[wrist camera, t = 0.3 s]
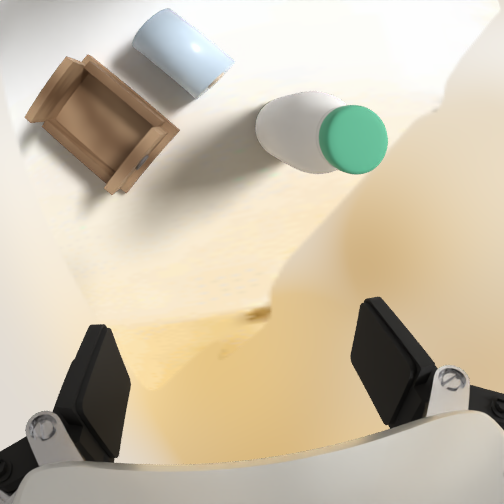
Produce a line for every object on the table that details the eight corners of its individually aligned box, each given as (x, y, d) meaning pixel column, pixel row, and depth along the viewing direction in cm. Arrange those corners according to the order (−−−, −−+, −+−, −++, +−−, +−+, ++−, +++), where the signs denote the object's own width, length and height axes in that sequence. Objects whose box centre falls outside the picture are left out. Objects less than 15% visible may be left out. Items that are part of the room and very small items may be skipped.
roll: (137, 51, 29) (125, 40, 24) (173, 17, 28) (167, 0, 23) (198, 101, 33) (196, 98, 28) (234, 67, 32) (238, 58, 26)
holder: (90, 55, 28) (68, 45, 22) (180, 130, 34) (173, 132, 28) (44, 118, 30) (16, 121, 24) (128, 191, 36) (112, 207, 30)
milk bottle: (255, 158, 37) (300, 201, 19) (253, 97, 34) (300, 75, 16) (315, 157, 38) (404, 198, 20) (315, 98, 35) (409, 89, 16)
